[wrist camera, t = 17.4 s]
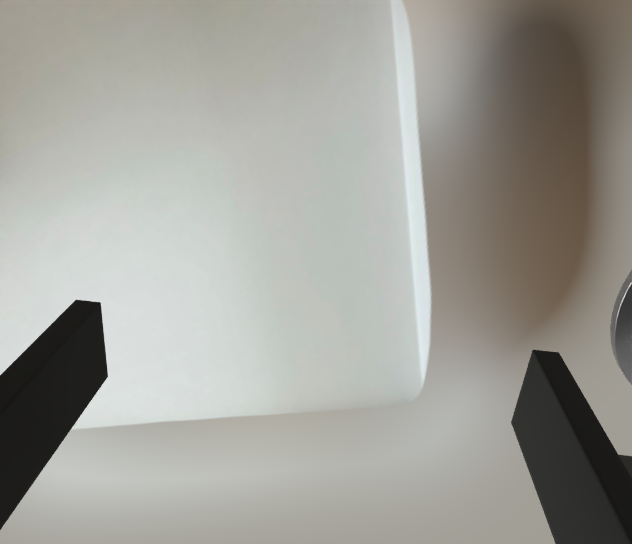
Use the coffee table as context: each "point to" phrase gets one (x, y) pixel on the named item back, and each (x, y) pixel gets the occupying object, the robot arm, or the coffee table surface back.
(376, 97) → the coffee table surface
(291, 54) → the coffee table surface
